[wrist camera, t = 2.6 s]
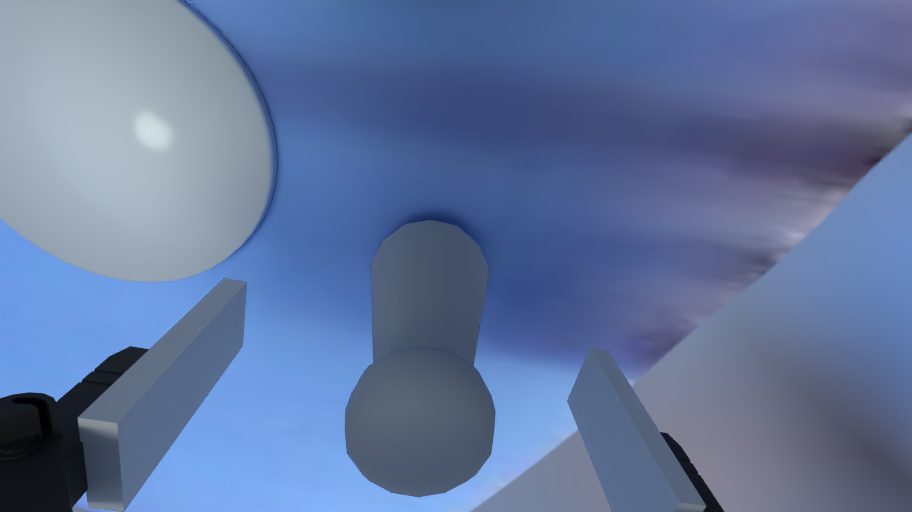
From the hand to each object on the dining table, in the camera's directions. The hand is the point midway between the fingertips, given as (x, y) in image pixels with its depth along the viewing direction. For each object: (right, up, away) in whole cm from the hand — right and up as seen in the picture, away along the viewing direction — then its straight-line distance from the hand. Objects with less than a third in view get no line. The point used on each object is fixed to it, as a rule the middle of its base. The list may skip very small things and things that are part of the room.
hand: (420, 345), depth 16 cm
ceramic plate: (-14, +9, +4) cm, 17 cm away
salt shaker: (0, +3, +7) cm, 8 cm away
